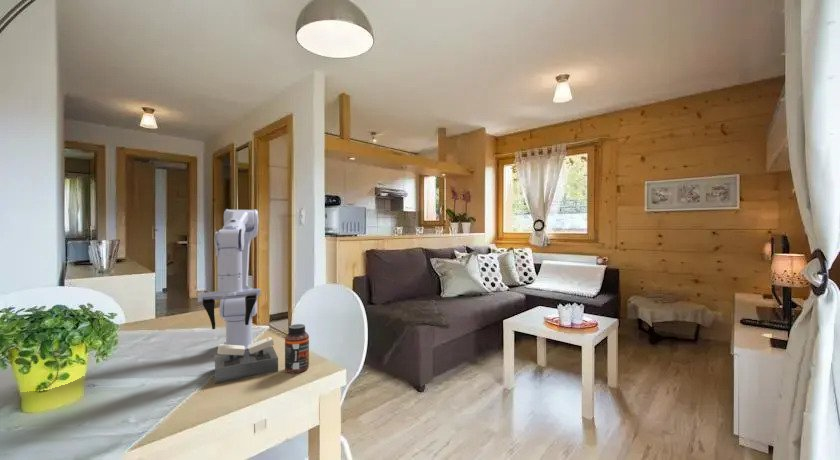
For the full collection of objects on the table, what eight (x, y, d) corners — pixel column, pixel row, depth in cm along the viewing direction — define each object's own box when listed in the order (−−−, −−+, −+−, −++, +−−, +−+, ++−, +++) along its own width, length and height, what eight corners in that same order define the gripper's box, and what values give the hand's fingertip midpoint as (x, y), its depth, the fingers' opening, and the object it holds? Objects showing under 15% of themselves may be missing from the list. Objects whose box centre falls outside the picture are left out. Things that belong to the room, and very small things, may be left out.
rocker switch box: (215, 368, 93) (214, 352, 92) (272, 358, 100) (272, 343, 99) (215, 384, 84) (214, 366, 84) (278, 371, 91) (278, 354, 91)
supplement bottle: (301, 374, 89) (301, 330, 89) (280, 373, 90) (279, 328, 90) (313, 365, 95) (313, 323, 94) (293, 363, 96) (292, 322, 96)
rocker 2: (249, 350, 95) (247, 345, 95) (272, 341, 98) (270, 336, 98) (250, 354, 93) (248, 348, 92) (274, 344, 95) (272, 339, 95)
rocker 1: (217, 350, 91) (219, 344, 92) (242, 351, 94) (244, 345, 95) (217, 354, 89) (219, 347, 89) (243, 355, 92) (245, 349, 92)
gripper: (197, 278, 87) (197, 333, 86) (261, 274, 94) (262, 325, 94) (198, 275, 93) (198, 327, 92) (258, 271, 100) (259, 320, 100)
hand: (230, 326), depth 93 cm, fingers open, 7 cm apart
